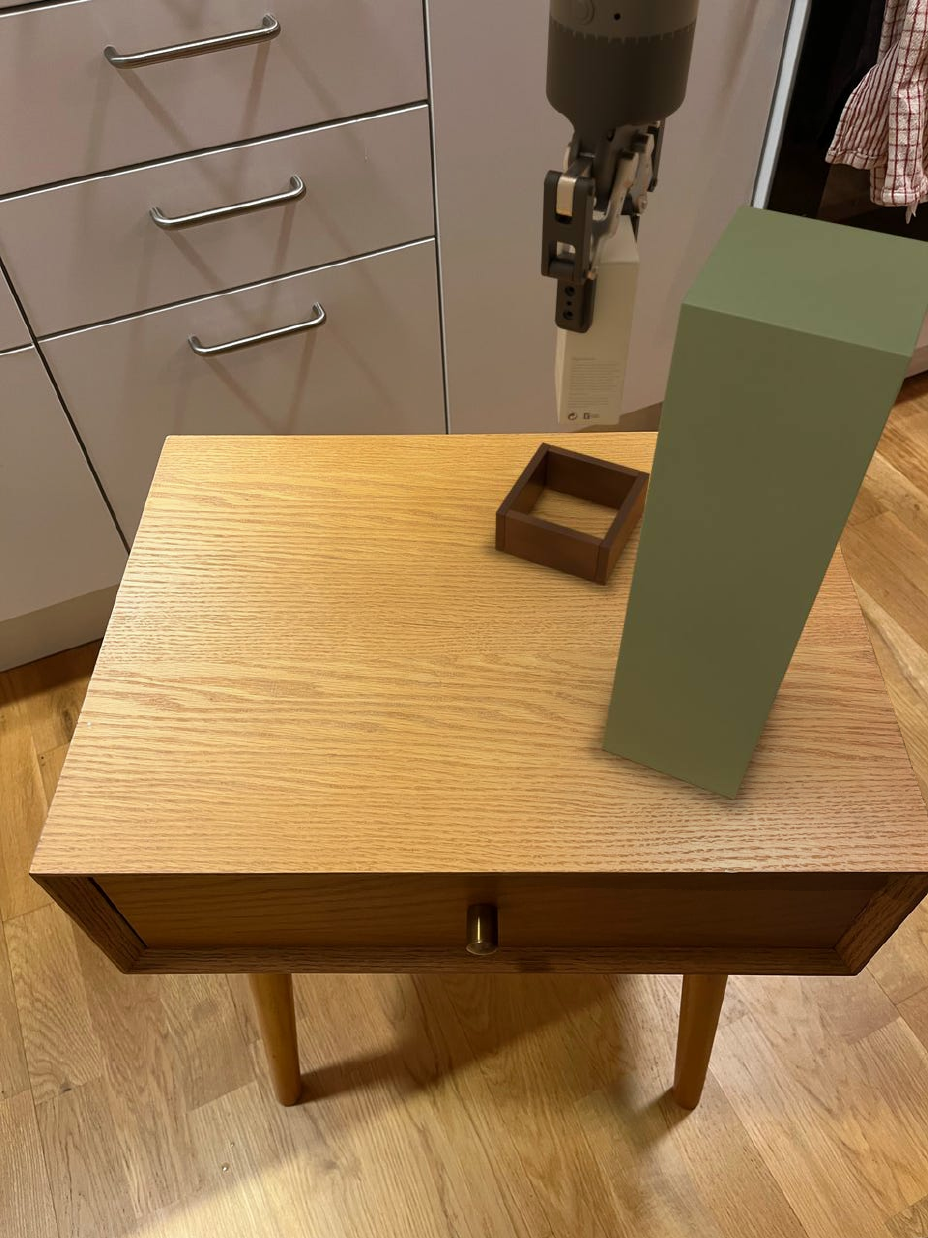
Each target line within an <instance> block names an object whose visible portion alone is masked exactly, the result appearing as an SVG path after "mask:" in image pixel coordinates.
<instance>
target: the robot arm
mask: <svg viewBox="0 0 928 1238" xmlns="http://www.w3.org/2000/svg"><path fill="white" fill-rule="evenodd" d="M699 7H700V0H549V13H548V33H547V58H546V77H545V78H546V79H545V80H546V81H545V94H546V98H547V101H548V102H549V104H550V106H551V107H552V108H553V109H554V110H555V111H556V112H557V113H558V114H561V115H563V116H564V117H565V118H566V119H567V120H568V121H569V122H570V124H571V126H573V130H574V131H573V133H572V138H571V140H570V141H569V142H568V144H567V146H566V149H565V154H564V157H563V162H562V170H563V171H559V170H553V169H549V170H548V171H547V173H546V175H545V178H544V180H543V197H542V198H543V200H542V230H541V260H540V274H541V276H543V277H546V278H551V279H554V280H555V279H556V281H557V282H556V296H555V314H554V322H555V323H554V324H555V325H556V326H557V328H558V327H559V328H561V329H565V330H569V331H573V332H577V333H586V332H587V331H588V330H589V328H590V327H591V325H592V323H593V313H594V303H595V293H596V282H597V274H598V271H599V264H600V260H601V256H602V252H603V248H604V244H605V242H606V240H608V239H610V238H612V237H613V236H614V235H615V234H616V231H617V227H618V223H619V219H620V215H629V216H630V219H631V224H632V228H633V233H634V237H635V241H636V245H637V243H638V235H639V227H640V221H641V219H640V218H641V216H640V215H643V213H644V212H645V210H646V209H647V206H648V193H653V192H654V191H655V188H656V187H657V186H658V181H659V179H658V175H659V169H660V161H661V156H662V149H663V142H664V141H663V140H664V134H665V127H666V120H667V118H668V117H670V116H672V115H673V114H675V113H676V112H677V111H678V110H679V109H680V108H681V106H682V105H683V103H684V101H685V98H686V93H687V87H688V80H689V74H690V66H691V60H692V54H693V48H694V47H693V46H694V39H695V34H696V27H697V20H698V12H699ZM594 212H599V213H603V214H602V215H605V217H604V218H602V219H601V220H593V215H594ZM591 235H592V241H591ZM571 245H572V246H573V247H574V248H575V253H571V252H569V251H570V247H571Z"/></svg>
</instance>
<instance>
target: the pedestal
mask: <svg viewBox="0 0 928 1238" xmlns="http://www.w3.org/2000/svg"><path fill="white" fill-rule="evenodd" d="M927 312H928V241H924V240H919V239H914V238H909V237H903V236H898V235H894V234H889V233H885V232H880V231H874V230H869V229H864V228H860V227H854V226H849V225H845V224H839V223H835V222H830V221H825V220H821V219H816V218H815V219H813V218H811V217H806V216H805V217H804V216H800V215H795V214H789V213H785V212H779V211H775V210H770V209H765V208H760V207H756V206H751V205H745V204H740V206H739V207H738V208H737V210H736V211H735V213H734V215H733V216H732V218H731V220H730V221H729V223H728V225H727V226H726V228H725V229H724V232H723V233H722V235H721V237H720V238H719V240H718V241H717V243H716V245H715V247H714V248H713V250H712V251H711V253H710V254H709V256H708V258H707V260H706V261H705V263H704V265H703V266H702V268H701V270H700V271H699V273H698V275H697V276H696V278H695V280H694V281H693V283H692V284H691V286H690V287H689V289H688V290H687V292H686V294H685V296H684V298H683V299H682V301H681V303H680V308H679V314H678V320H677V324H676V331H675V336H674V342H673V348H672V353H671V358H670V362H669V363H670V364H669V370H668V375H667V380H666V386H665V390H664V397H663V403H662V409H661V415H660V419H659V425H658V430H657V437H656V441H655V447H654V453H653V459H652V464H651V469H650V478H649V483H648V489H647V495H646V500H645V506H644V511H643V513H642V519H641V526H640V532H639V537H638V538H639V539H638V543H637V549H636V555H635V560H634V565H633V570H632V576H631V580H630V581H631V582H630V587H629V592H628V599H627V604H626V610H625V614H624V615H625V616H624V621H623V627H622V632H621V637H620V643H619V649H618V654H617V659H616V660H617V662H616V666H615V671H614V676H613V683H612V689H611V694H610V698H609V704H608V711H607V717H606V720H605V721H606V722H605V728H604V731H603V732H604V733H603V738H602V743H601V750H603V751H606V752H608V753H611V754H614V755H616V756H618V757H622V758H624V759H627V760H628V761H629V760H630V761H632V762H634V763H637V764H640V765H643V766H645V767H647V768H650V769H653V770H654V771H657V772H660V773H663V774H665V775H667V776H668V775H669V776H671V777H673V778H676V779H678V780H681V781H684V782H687V783H689V784H692V785H694V786H697V787H700V788H702V789H705V790H707V791H710V792H713V793H715V794H717V795H720V796H722V797H725V798H727V799H731V800H736V798H737V795H738V793H739V791H740V787H741V785H742V783H743V781H744V778H745V775H746V774H747V773H746V772H747V770H748V768H749V765H750V763H751V760H752V758H753V755H754V753H755V751H756V748H757V745H758V743H759V741H760V738H761V735H762V734H763V731H764V728H765V725H766V723H767V722H768V721H767V720H768V718H769V716H770V714H771V710H772V708H773V706H774V703H775V702H776V698H777V696H778V693H779V691H780V689H781V686H782V684H783V681H784V678H785V676H786V674H787V671H788V668H789V666H790V664H791V661H792V658H793V656H794V653H795V651H796V649H797V646H798V644H799V641H800V640H801V639H800V638H801V636H802V634H803V631H804V629H805V626H806V624H807V621H808V618H809V617H810V613H811V611H812V609H813V606H814V604H815V601H816V599H817V596H818V594H819V592H820V589H821V586H822V584H823V583H824V582H823V581H824V579H825V577H826V574H827V571H828V569H829V568H830V567H829V566H830V564H831V563H832V562H831V561H832V559H833V557H834V554H835V552H836V549H837V547H838V544H839V541H840V539H841V537H842V534H843V532H844V529H845V527H846V524H847V522H848V519H849V516H850V515H851V512H852V509H853V506H854V504H855V502H856V500H857V498H858V495H859V492H860V489H861V488H862V485H863V482H864V479H865V478H866V474H867V473H868V470H869V467H870V465H871V462H872V459H873V457H874V454H875V453H876V450H877V447H878V445H879V443H880V440H881V438H882V435H883V432H884V431H885V428H886V426H887V422H888V420H889V418H890V415H891V412H892V410H893V407H894V405H895V403H896V400H897V398H898V395H899V393H900V391H901V387H902V386H903V383H904V380H905V378H906V375H907V373H908V370H909V368H910V366H911V364H912V360H913V357H914V355H915V351H916V348H917V345H918V343H919V338H920V334H921V332H922V329H923V325H924V322H925V319H926V315H927Z"/></svg>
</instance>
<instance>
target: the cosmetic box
mask: <svg viewBox="0 0 928 1238" xmlns="http://www.w3.org/2000/svg"><path fill="white" fill-rule="evenodd" d="M604 217H605V215H603V214H602V215H601V214H599V215H598V214H593V220H601V219H602V218H604ZM591 241H592V235H591ZM569 252H571V253H575V248H574V247H573V246H572V245H571V247H570V251H569ZM640 265H641V259H640V255H639V249H638V245H637V244H636V241H635V237H634V233H633V228H632V224H631V219H630V216H629V215H620V219H619V223H618V227H617V231H616V234H615V235H614V236H613V237H612V238H610V239H608V240H606V242H605V244H604V248H603V252H602V256H601V260H600V264H599V271H598V274H597V282H596V293H595V303H594V313H593V323H592V325H591V327H590V328H589V330H588V331H587V332H586V333H577V332H573V331H569V330H565V329H561V328H559V327H558V326H557V336H556V350H555V361H554V363H555V364H554V384H555V385H554V386H555V397H556V399H555V400H556V409H557V422H558V425H560V426H561V425H562V426H614V425H615V426H616V425H619V422H620V418H621V417H620V416H621V408H622V401H623V393H624V385H625V378H626V373H627V372H626V371H627V363H628V357H629V350H630V343H631V342H630V341H631V334H632V326H633V319H634V310H635V303H636V296H637V290H638V281H639V275H640V274H639V273H640Z"/></svg>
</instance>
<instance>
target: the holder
mask: <svg viewBox="0 0 928 1238" xmlns="http://www.w3.org/2000/svg"><path fill="white" fill-rule="evenodd" d="M650 475H651V472H650V473H649V472H647V471H644V470H639V469H636V468H634V467H633V468H632V467H629V466H626V465H622V464H619V463H615V462H613V461H608V460H605V459H601V458H598V457H594V456H592V455H588V454H584V453H581V452H578V451H575V450H571V449H569V448H564V447H560V446H558V445H553V444H551V443H550V444H549V443H547V442H543V441H542V442H541V444H540V445H539V447H538V448H537V450H536V451H535V453H534V454H533V456H532V457H531V459H530V460H529V461H528V463H527V464H526V466H525V467H524V469H523V471H522V472H521V474H520V475H519V477H518V478H517V480H516V481H515V483H514V484H513V486H512V487H511V489H510V490H509V492H508V493H507V494H506V496H505V497H504V499H503V501H502V502H501V504H500V506H499V507H498V508H497V509H496V511H495V532H494V533H495V535H494V537H495V538H494V539H495V540H494V549H495V550H496V551H500V552H503V553H505V554H508V555H511V556H514V557H517V558H520V559H522V560H523V559H524V560H527V561H528V562H532V563H535V564H538V565H542V566H544V567H547V568H550V569H553V570H556V571H559V572H562V573H565V574H568V575H571V576H575V577H577V578H580V579H584V580H586V581H589V582H592V583H595V584H597V585H598V584H599V585H602V586H605V585H606V584H607V582H608V580H609V578H610V575H611V574H612V572H613V570H614V568H615V566H616V564H617V562H618V561H619V559H620V557H621V555H622V553H623V551H624V549H625V547H626V545H627V543H628V541H629V540H630V538H631V536H632V534H633V533H634V530H635V528H636V526H637V525H638V523H639V520H640V518H641V517H642V516H643V514H644V509H645V503H646V497H647V492H648V486H649V481H650ZM545 488H547V489H550V490H553V491H557V492H560V493H563V494H565V495H566V494H567V495H570V496H573V497H576V498H580V499H583V500H586V501H589V502H593V503H595V504H600V505H603V506H606V507H609V508H611V509H614V510H615V509H616V510H618V512H617V513H616V515H615V517H614V518H613V521H612V523H611V524H610V527H609V529H607V532H606V534H605V536H604V537H603V538H602V537H598V536H595V535H592V534H590V533H587V532H583V531H580V530H576V529H573V528H570V527H566V526H563V525H560V524H557V523H554V522H552V521H548V520H545V519H542V518H539V517H535V516H532V515H529V513H530V511H531V509H532V508H533V507H534V505H535V503H536V502H537V500H538V499H539V497H540V495H541V494H542V492H543V491H544V489H545Z"/></svg>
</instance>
